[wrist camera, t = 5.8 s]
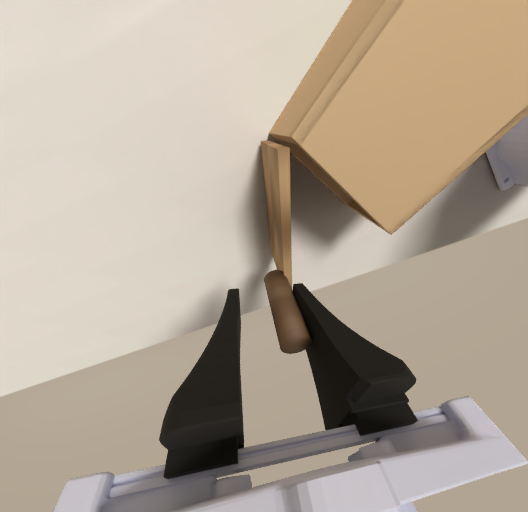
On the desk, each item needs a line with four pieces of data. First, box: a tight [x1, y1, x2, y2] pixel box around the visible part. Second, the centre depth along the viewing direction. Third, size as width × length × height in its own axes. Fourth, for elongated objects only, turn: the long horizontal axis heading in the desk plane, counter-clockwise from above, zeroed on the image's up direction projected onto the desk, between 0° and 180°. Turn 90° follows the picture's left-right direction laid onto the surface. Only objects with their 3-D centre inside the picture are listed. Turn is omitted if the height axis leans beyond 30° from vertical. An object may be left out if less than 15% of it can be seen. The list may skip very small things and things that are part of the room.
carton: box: [269, 0, 528, 235], centre depth 12 cm, size 10×11×6 cm
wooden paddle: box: [261, 140, 312, 354], centre depth 12 cm, size 10×2×11 cm, turn 5°
